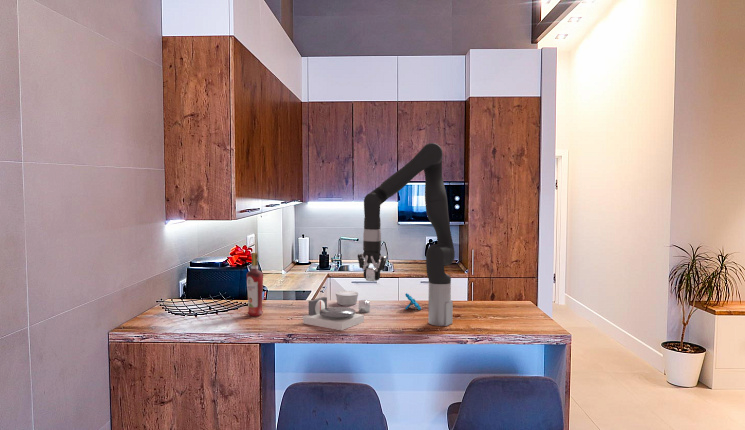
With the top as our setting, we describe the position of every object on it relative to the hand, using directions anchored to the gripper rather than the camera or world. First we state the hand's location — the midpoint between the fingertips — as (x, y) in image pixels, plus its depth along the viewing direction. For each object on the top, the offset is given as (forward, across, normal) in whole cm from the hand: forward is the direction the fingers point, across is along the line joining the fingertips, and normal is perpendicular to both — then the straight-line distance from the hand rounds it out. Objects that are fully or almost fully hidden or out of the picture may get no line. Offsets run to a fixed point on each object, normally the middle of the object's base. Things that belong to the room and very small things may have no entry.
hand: (371, 278), depth 222 cm
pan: (+14, +9, +12) cm, 20 cm away
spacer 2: (0, 0, 0) cm, 0 cm away
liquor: (+19, +47, +22) cm, 56 cm away
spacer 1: (+18, +11, -11) cm, 24 cm away
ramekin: (+19, +28, -20) cm, 40 cm away
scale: (+18, +11, +12) cm, 24 cm away
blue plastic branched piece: (+18, -5, -28) cm, 34 cm away
